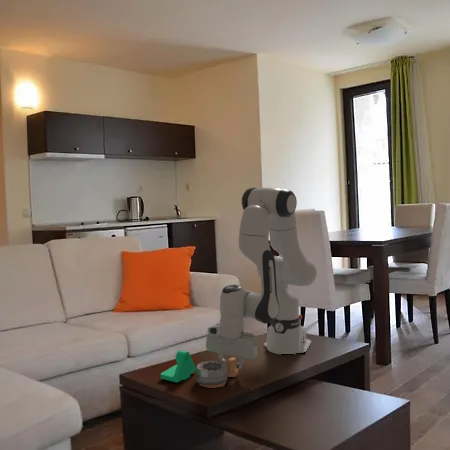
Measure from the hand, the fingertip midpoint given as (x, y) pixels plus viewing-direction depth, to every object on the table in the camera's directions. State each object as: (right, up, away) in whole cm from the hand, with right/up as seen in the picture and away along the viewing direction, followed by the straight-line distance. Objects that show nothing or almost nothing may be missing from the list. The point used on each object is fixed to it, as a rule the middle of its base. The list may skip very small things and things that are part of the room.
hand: (231, 366), depth 200 cm
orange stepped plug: (0, -3, 0) cm, 3 cm away
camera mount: (-19, -4, -2) cm, 20 cm away
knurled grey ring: (-7, -4, -7) cm, 10 cm away
